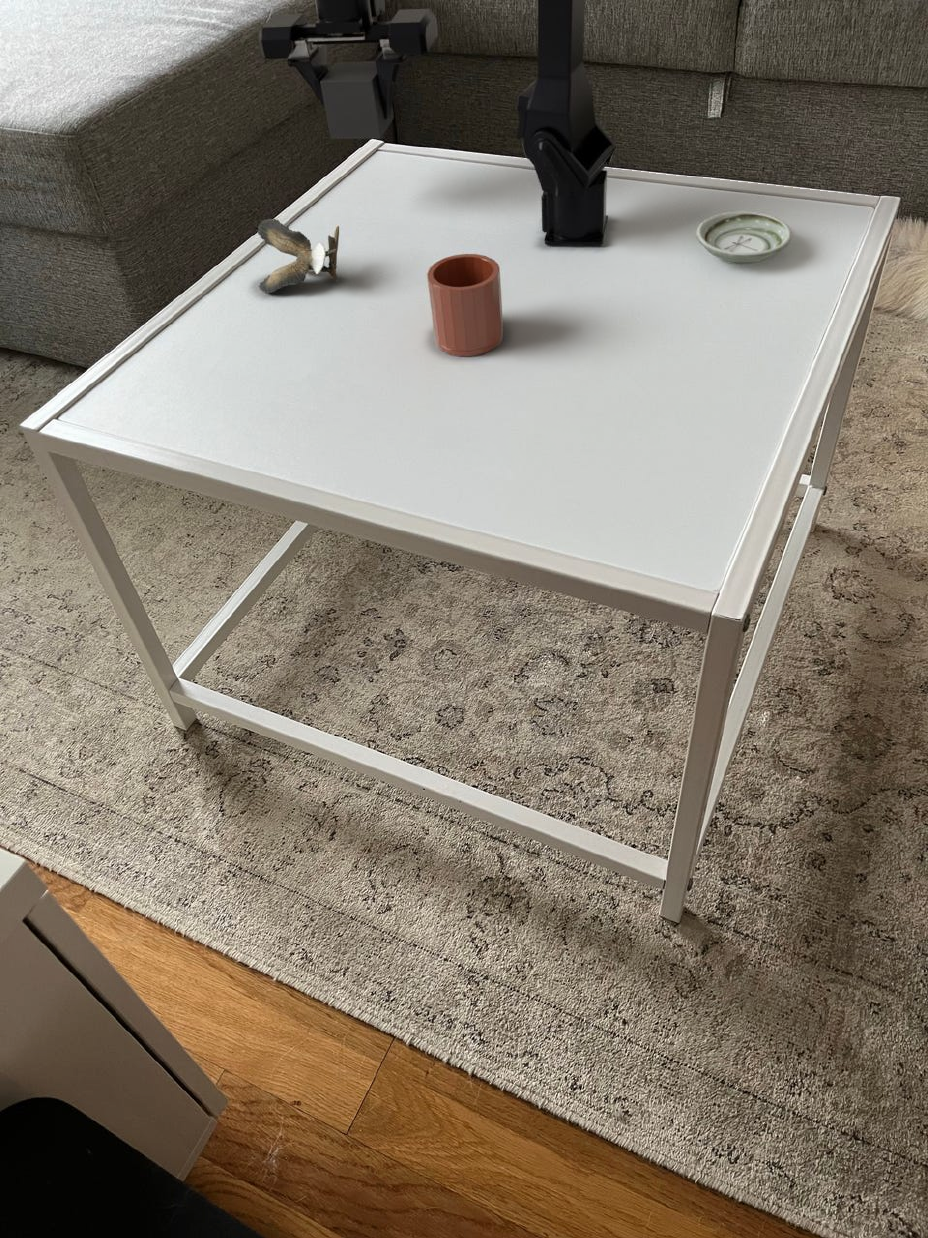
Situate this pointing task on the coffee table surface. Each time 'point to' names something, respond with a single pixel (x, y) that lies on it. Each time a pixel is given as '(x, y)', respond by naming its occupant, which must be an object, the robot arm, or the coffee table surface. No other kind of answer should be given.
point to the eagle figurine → (301, 249)
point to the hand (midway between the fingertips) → (361, 118)
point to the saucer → (743, 236)
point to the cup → (466, 304)
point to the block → (354, 101)
